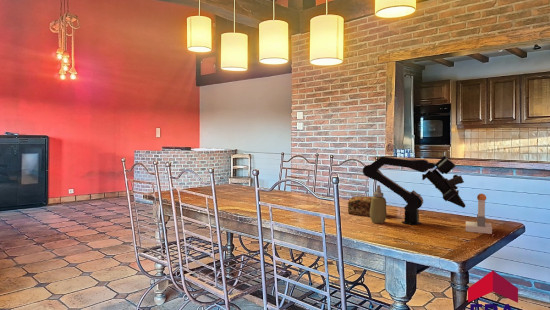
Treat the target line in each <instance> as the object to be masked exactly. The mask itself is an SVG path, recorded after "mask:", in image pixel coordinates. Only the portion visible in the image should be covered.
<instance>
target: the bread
mask: <svg viewBox="0 0 550 310" xmlns="http://www.w3.org/2000/svg"><path fill="white" fill-rule="evenodd" d="M372 197H373V196H371V195H370V196H369V195H368V196H362V195H361V196H359V195H357V196H352V197H350V198H349V199H348V202H347V213H348V215H353V214H357V215H356V216H362V215H366V216H365V217H370V207H371V198H372ZM385 200H386V201H387V199H386V198H385Z"/></svg>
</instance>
